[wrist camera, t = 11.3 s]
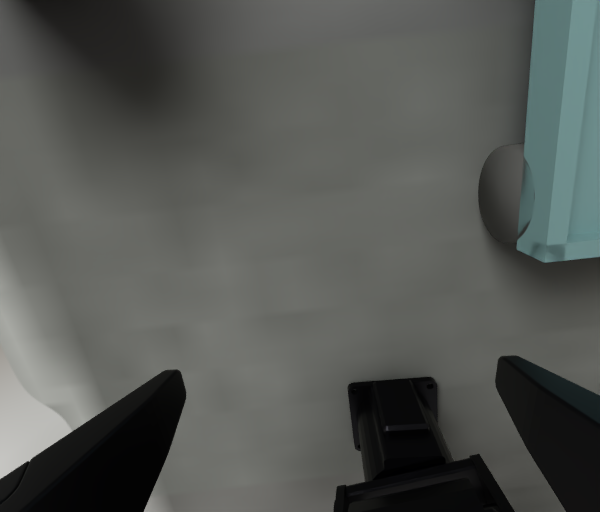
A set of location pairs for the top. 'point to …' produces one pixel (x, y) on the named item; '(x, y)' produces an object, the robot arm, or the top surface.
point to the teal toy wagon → (553, 143)
